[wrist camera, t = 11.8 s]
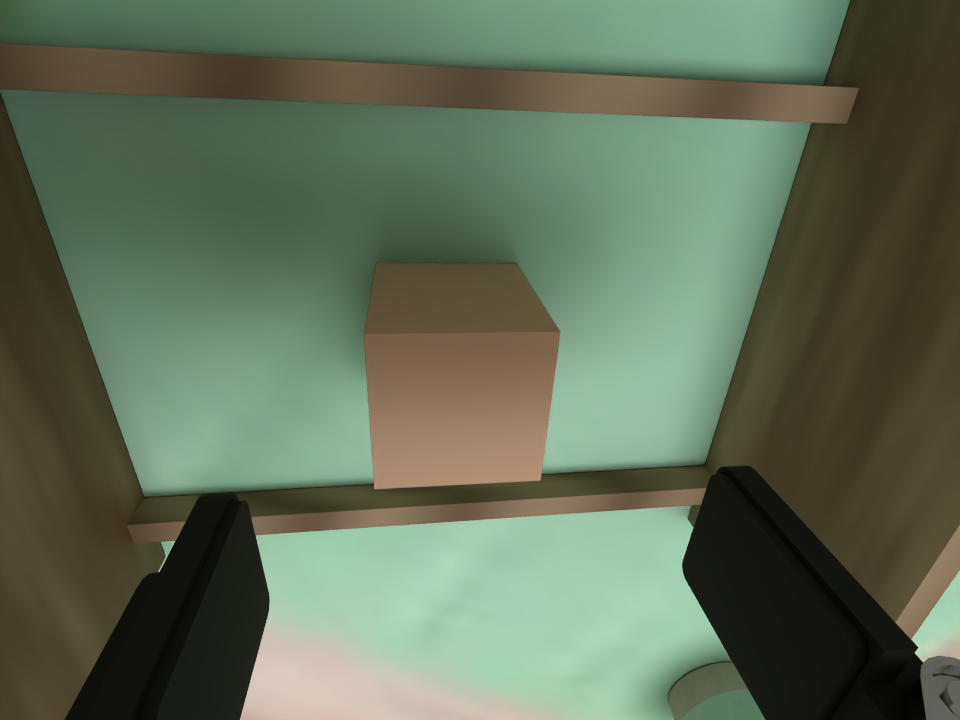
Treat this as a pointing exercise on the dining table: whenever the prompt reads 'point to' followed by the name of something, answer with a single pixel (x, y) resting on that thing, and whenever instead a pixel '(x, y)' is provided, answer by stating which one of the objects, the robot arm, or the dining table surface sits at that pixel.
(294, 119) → the dining table surface
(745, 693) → the coffee cup
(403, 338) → the terracotta block
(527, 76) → the wooden shelf frame
